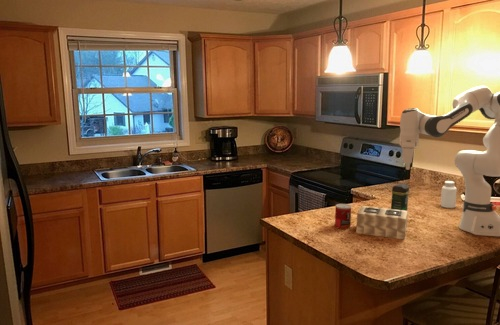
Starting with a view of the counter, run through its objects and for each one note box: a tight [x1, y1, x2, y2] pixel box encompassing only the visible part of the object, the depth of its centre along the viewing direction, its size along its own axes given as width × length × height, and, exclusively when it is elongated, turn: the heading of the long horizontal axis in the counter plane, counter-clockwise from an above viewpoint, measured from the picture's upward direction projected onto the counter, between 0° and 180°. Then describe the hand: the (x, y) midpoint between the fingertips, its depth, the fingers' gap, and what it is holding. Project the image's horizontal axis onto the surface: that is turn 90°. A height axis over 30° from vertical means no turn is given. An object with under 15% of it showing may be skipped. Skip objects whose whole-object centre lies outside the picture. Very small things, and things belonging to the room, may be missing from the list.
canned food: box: [334, 203, 352, 230], centre depth 208 cm, size 8×8×11 cm
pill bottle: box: [440, 180, 458, 209], centre depth 243 cm, size 8×8×15 cm
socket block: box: [355, 205, 409, 240], centre depth 201 cm, size 22×14×10 cm, turn 66°
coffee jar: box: [390, 182, 410, 211], centre depth 222 cm, size 10×8×19 cm
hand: (407, 169), depth 206 cm, fingers closed
